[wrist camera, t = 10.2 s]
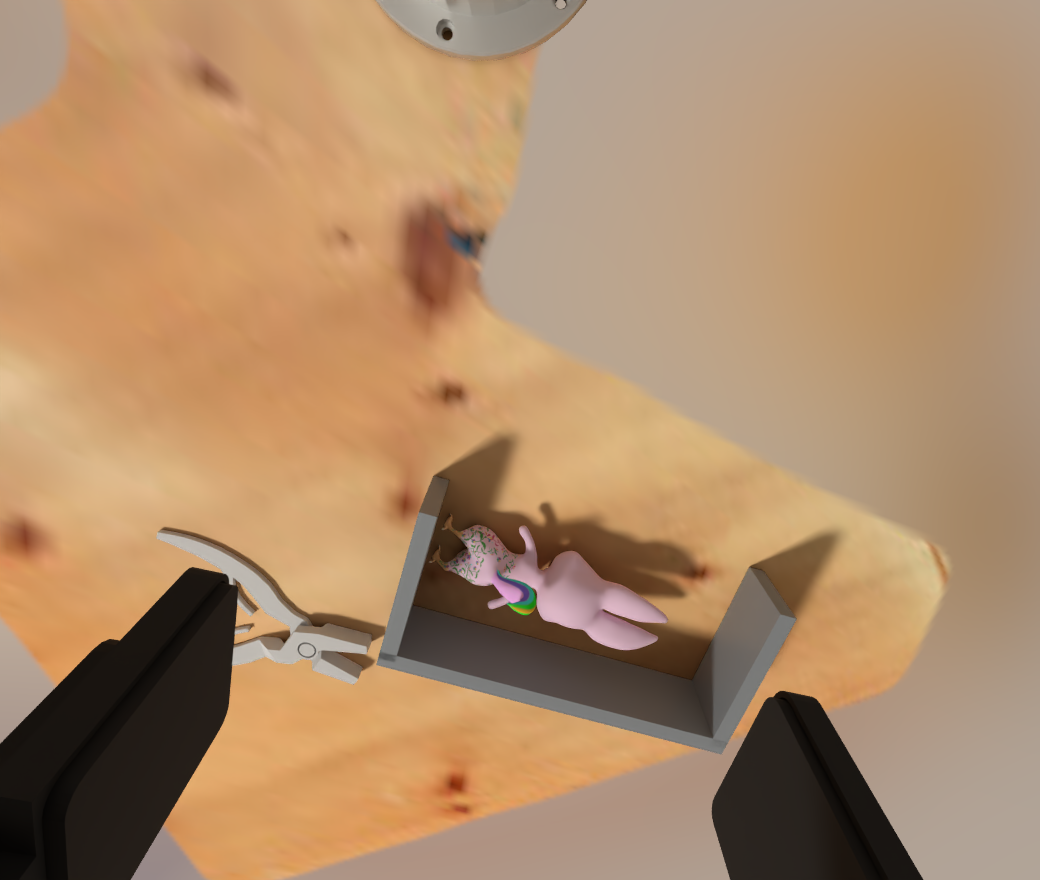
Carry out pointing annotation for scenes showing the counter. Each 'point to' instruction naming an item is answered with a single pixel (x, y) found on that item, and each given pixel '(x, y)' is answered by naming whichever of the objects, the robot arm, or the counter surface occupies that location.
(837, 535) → the counter surface
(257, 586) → the pliers
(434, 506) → the box
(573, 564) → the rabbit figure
